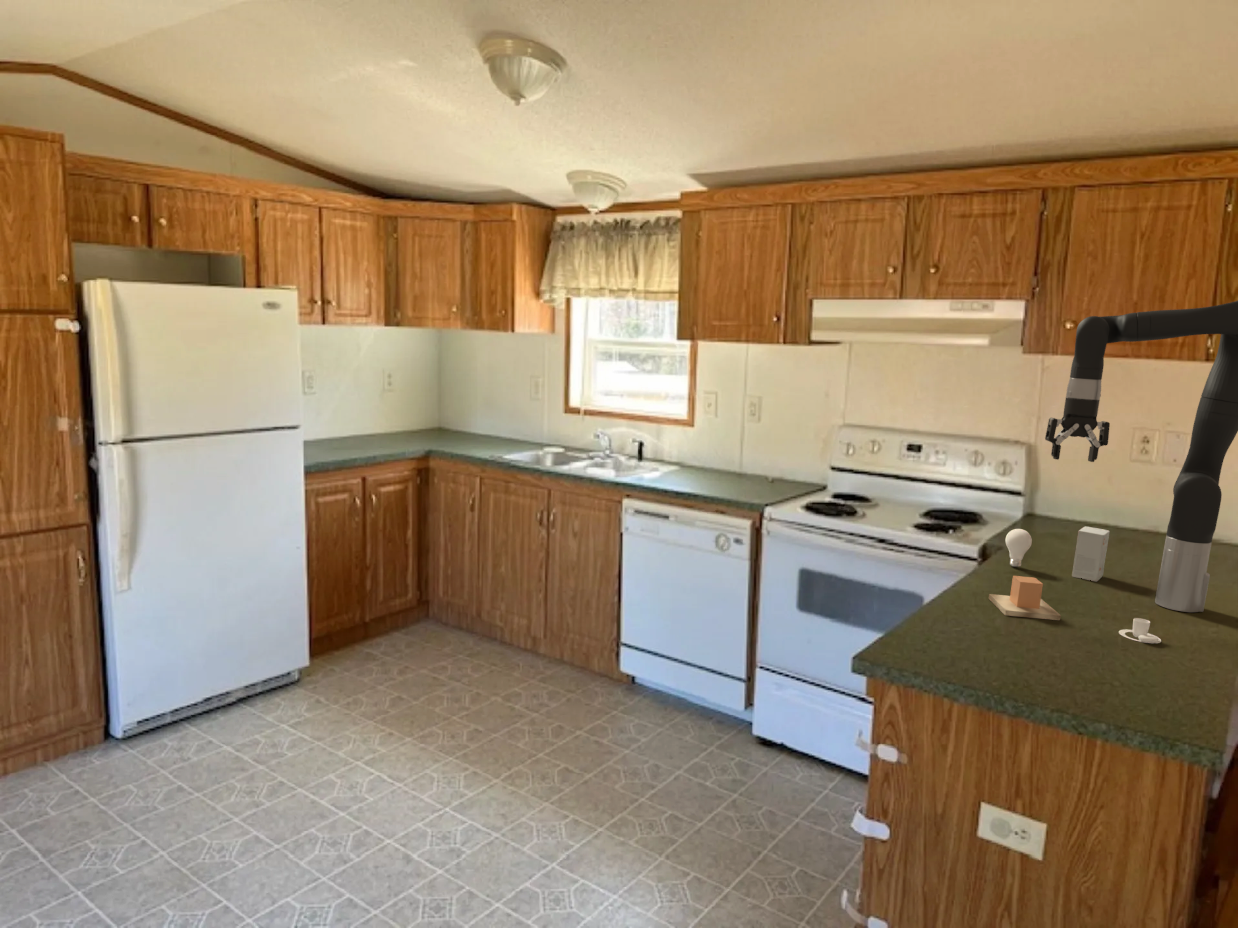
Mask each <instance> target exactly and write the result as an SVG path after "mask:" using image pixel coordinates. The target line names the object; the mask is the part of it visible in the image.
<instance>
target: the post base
mask: <svg viewBox="0 0 1238 928" xmlns="http://www.w3.org/2000/svg"><path fill="white" fill-rule="evenodd" d="M988 600H989V601H991V603H992V604H993V605H994V606H996V608H997V609H998V610H999V611H1000V612H1001V613H1002V615H1004V616H1009V617H1010V616H1011V617H1022V618H1030V619H1042V620H1051V621H1052V620H1053V621H1061V617H1062V615H1061V614H1060V613H1059V612H1058V611H1056V610H1055V609H1054V608H1053V607H1051V606H1050V604H1049V603H1047V602H1045V601H1044V599H1043V598H1041V601H1040V608H1039V609H1036V608H1025V607H1017V606H1015V605H1014V604H1013V603H1012V602H1011V601H1010V595H1004V594H993V593H989V594H988Z"/></svg>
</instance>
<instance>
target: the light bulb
mask: <svg viewBox="0 0 1238 928" xmlns="http://www.w3.org/2000/svg"><path fill="white" fill-rule="evenodd" d="M1032 542H1033V539H1032V536H1031V534H1030V533H1029V532H1028V531H1027V530H1025V529H1022V528H1014V529H1012V530H1009V532H1008V533H1007V534H1006V536H1005V545H1006V547H1007V550H1008V551H1009V558H1010V559H1009V565H1010V566H1012V567H1013V568H1019V567H1021V566H1022V560H1023V558H1024V556H1025V554H1026V553H1027V552H1028V551H1029V549H1030V548H1031V546H1032Z"/></svg>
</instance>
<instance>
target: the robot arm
mask: <svg viewBox="0 0 1238 928" xmlns="http://www.w3.org/2000/svg"><path fill="white" fill-rule="evenodd" d="M1198 335H1220V339H1219V344H1218V349H1217V354H1216V357H1215V360H1214V362H1213V363H1212V365H1211V366H1212V367H1211V369H1210V371H1209V372H1208V375H1207V376H1208V377H1207V378H1206V381H1205V383H1204V387H1203V388H1202V389H1203V390H1202V392H1201V394H1200V399H1199V403H1198V406H1197V409H1196V413H1195V417H1194V421H1193V425H1192V430H1191V437H1190V445H1189V448H1188V452H1187V455H1186V457H1185V460H1184V463H1183V465H1182V467H1181V470H1180V471H1179V475H1178V476H1177V478H1176V480H1175V482H1174V485H1173V489H1172V490H1173V500H1172V501H1173V502H1172V505H1171V506H1172V507H1171V512H1170V518H1169V521H1168V525H1167V528H1166V533H1165V535H1166V536H1165V540H1164V541H1165V542H1164V547H1163V551H1162V552H1163V553H1162V558H1161V565H1160V570H1159V574H1158V575H1159V576H1158V580H1157V581H1158V582H1157V587H1156V588H1157V589H1156V593H1155V599H1154V602H1155V604H1156V605H1158V606H1160V607H1163V608H1166V609H1168V610H1173V611H1179V612H1182V613H1183V612H1185V613H1198V612H1200V613H1201V612H1202V613H1203V612H1204V609H1205V604H1206V599H1207V594H1208V588H1209V584H1210V578H1211V577H1210V576H1211V574H1210V573H1209V572H1207V571H1208V564H1209V560H1210V553H1211V548H1212V544H1213V543H1212V542H1213V537H1214V534H1215V532H1216V528H1217V524H1218V518H1219V514H1220V508H1221V502H1222V495H1223V493H1222V489H1221V487H1220V485H1219V484H1220V478H1221V472H1222V467H1223V463H1224V460H1225V457H1226V454H1227V452H1228V450H1229V449H1230V446H1231V444H1232V443H1233V442H1234V440H1235V437H1236V436H1237V434H1238V300H1236V301H1231V302H1227V303H1222V304H1219V305H1213V306H1204V307H1203V306H1202V307H1196V308H1194V307H1193V308H1181V309H1178V308H1177V309H1163V310H1161V309H1160V310H1149V311H1137V312H1131V313H1126V314H1123V315H1104V316H1098V315H1090V316H1087V317H1085V318H1084V319H1083V320H1081V321H1080V322H1079V323H1078V325H1077V328H1076V331H1075V341H1074V342H1075V343H1074V355H1073V359H1072V361H1071V362H1072V363H1071V368H1070V372H1069V373H1070V375H1069V381H1068V384H1067V388H1066V394H1065V401H1064V407H1063V415H1062V418H1061V419H1060V418H1055V417H1050V418H1049V419H1048V422H1047V428H1046V430H1045V431H1046V432H1045V437H1044V439H1045V441H1047V442H1050V443H1051V444H1052V446H1051V453H1050V456H1051V457H1052V459H1054V460H1058V461H1059V459H1060V455H1061V451H1062V450H1061V449H1062V446H1061V444H1062V442H1064V440H1066V439H1068V438H1069V437H1072V438H1073V437H1074V438H1075V437H1080V438H1085V439H1086V440H1087V441H1088V442H1089V444H1090V445H1091V446H1089V450H1088V451H1089V452H1088V456H1087V461H1088V462H1090V463H1094V462H1095V461H1096V460H1097V459H1098V455H1099V449H1100V447H1103V446H1108V445H1109V438H1110V422H1108V421H1105V420H1102V421H1098V420H1097V419H1098V414H1099V406H1100V401H1101V397H1102V380H1103V374H1104V363H1105V361H1104V358H1105V354H1106V353H1105V352H1106V348H1107V344H1112V343H1120V342H1125V343H1126V342H1129V343H1130V342H1132V343H1134V342H1135V343H1136V342H1145V341H1147V342H1148V341H1149V342H1150V341H1159V340H1167V339H1175V338H1181V337H1189V336H1198ZM1059 425H1061V427H1062V429H1061V430H1060V431H1059V432H1057V435H1056V430H1057V428H1058V427H1059ZM1096 428H1097V429H1098V430H1099V434H1098V435H1099V436H1098V438H1097V436H1096V435H1095V433H1094V430H1096ZM1055 435H1056V436H1055Z"/></svg>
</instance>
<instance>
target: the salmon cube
mask: <svg viewBox="0 0 1238 928" xmlns="http://www.w3.org/2000/svg"><path fill="white" fill-rule="evenodd" d="M1043 586H1044V583H1043V582H1041V581H1040V580H1038V578H1036V577H1031V576H1021V575H1020V576H1019V575H1012V580H1011V586H1010V587H1011V588H1010V595H1009V596H1010V601H1011V602H1012V603H1013V604H1014V605H1015V606H1017V607H1025V608H1036V609H1039V608H1040V601H1041V599H1042V593H1043Z"/></svg>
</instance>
